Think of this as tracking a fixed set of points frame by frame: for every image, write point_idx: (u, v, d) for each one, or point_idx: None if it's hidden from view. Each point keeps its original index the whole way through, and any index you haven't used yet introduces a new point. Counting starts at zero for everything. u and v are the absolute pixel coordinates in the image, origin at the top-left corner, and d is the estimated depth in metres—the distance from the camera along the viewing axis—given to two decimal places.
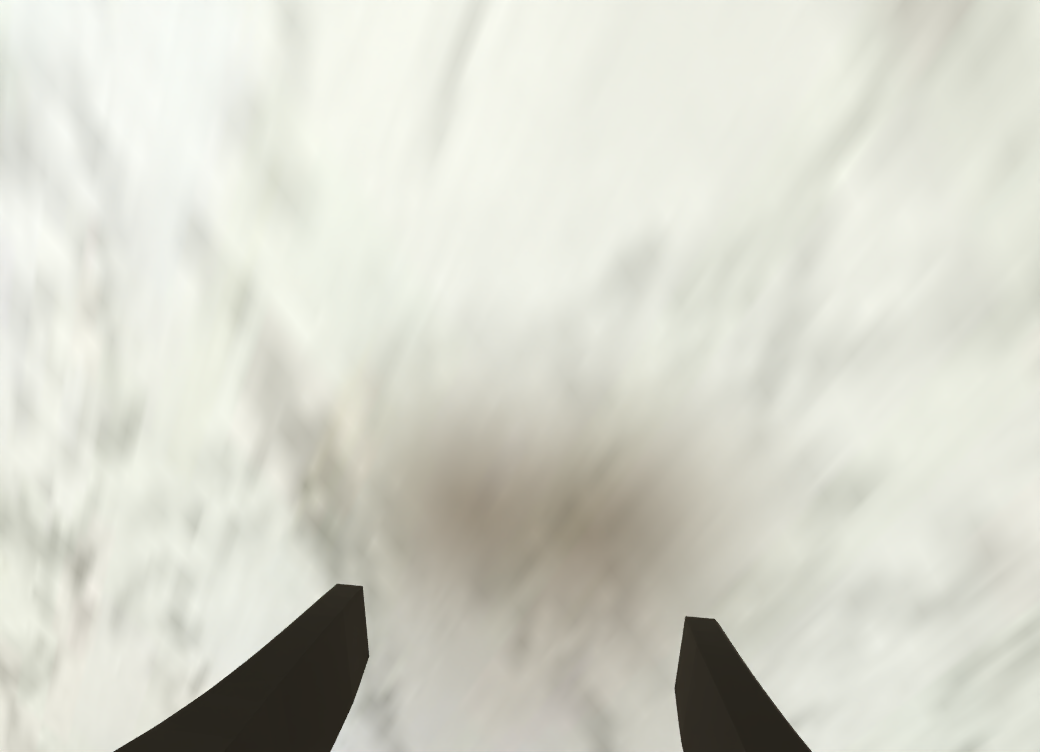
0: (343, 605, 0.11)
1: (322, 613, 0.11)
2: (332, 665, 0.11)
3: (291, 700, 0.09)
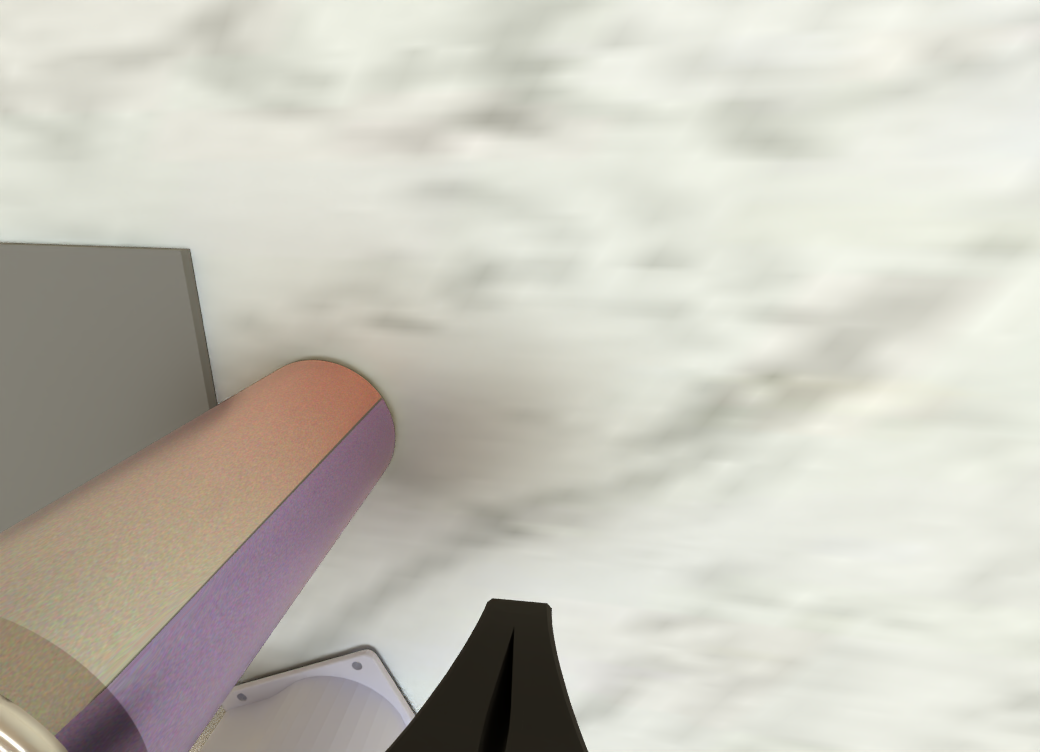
0: (512, 621, 0.11)
1: (495, 630, 0.10)
2: (507, 684, 0.10)
3: (491, 723, 0.09)
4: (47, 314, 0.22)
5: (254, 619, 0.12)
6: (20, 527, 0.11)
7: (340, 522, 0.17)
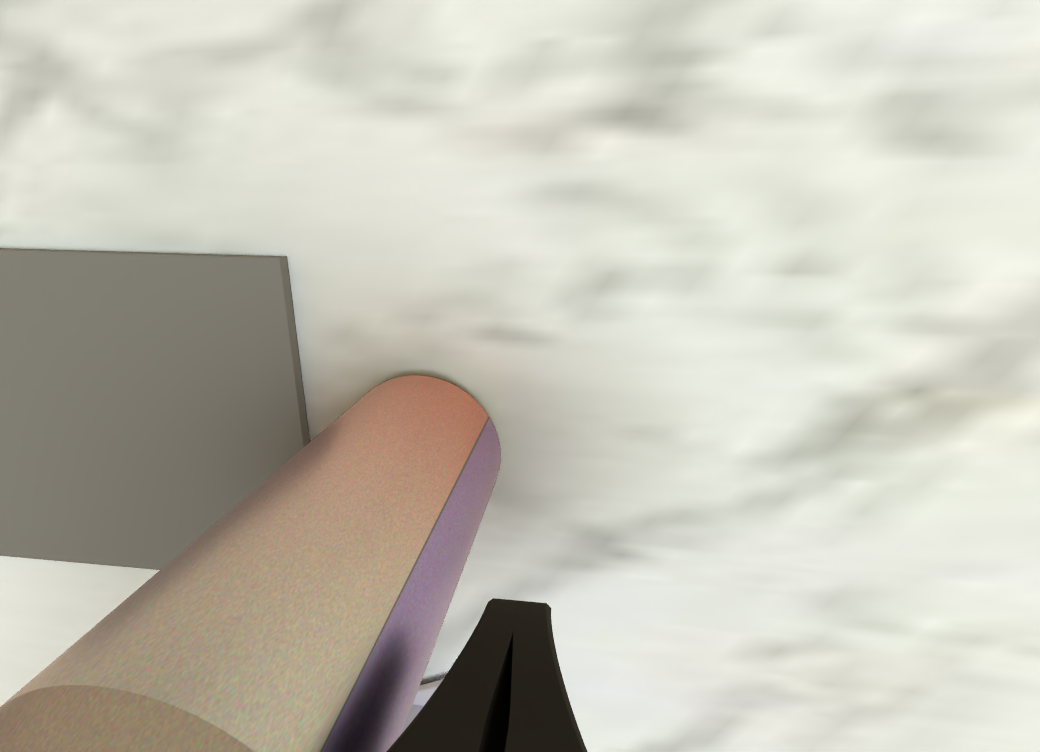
0: (513, 621, 0.11)
1: (496, 630, 0.10)
2: (508, 684, 0.10)
3: (492, 723, 0.09)
4: (130, 326, 0.20)
5: (413, 683, 0.11)
6: (171, 582, 0.09)
7: (466, 558, 0.15)
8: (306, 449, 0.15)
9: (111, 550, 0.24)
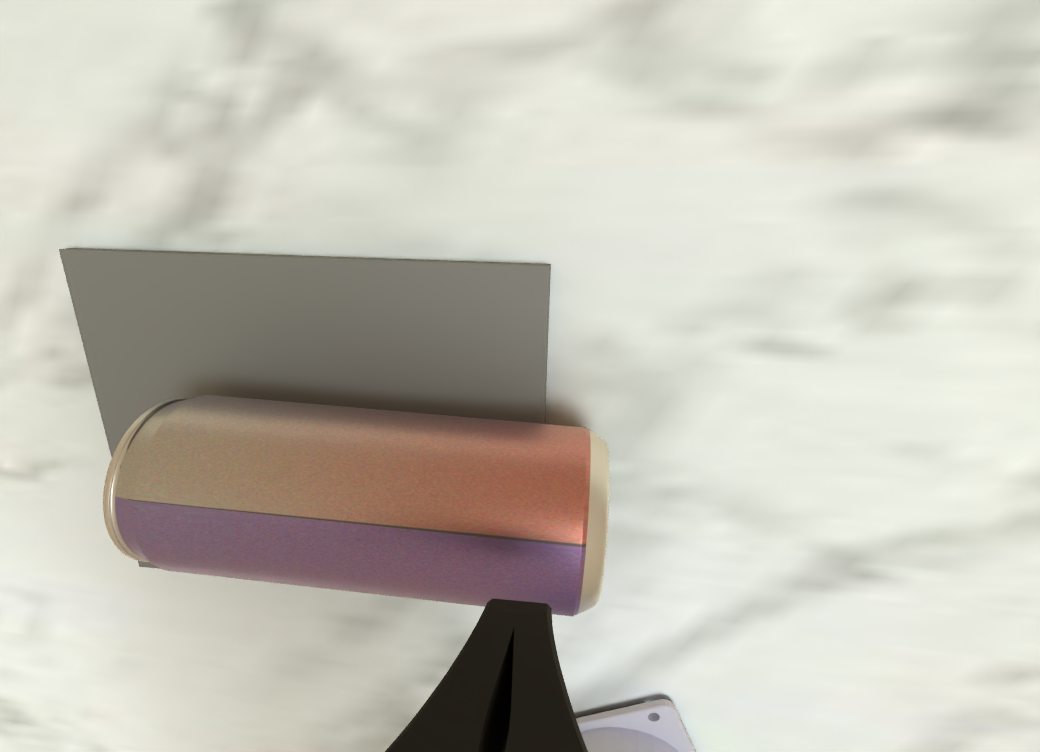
0: (512, 622, 0.11)
1: (495, 630, 0.10)
2: (507, 684, 0.10)
3: (491, 723, 0.09)
4: (373, 335, 0.20)
5: (242, 559, 0.16)
6: (251, 404, 0.18)
7: (399, 587, 0.16)
8: (417, 413, 0.18)
9: None
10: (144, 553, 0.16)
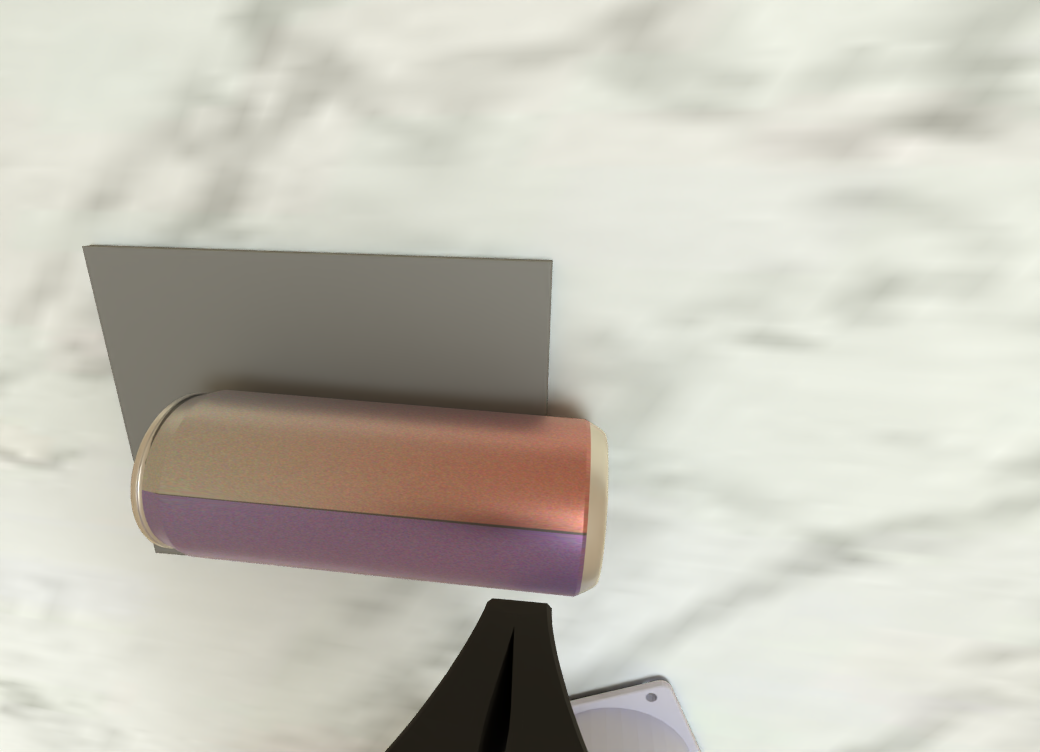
0: (512, 621, 0.11)
1: (495, 630, 0.10)
2: (507, 684, 0.10)
3: (491, 723, 0.09)
4: (382, 329, 0.20)
5: (263, 547, 0.17)
6: (266, 399, 0.19)
7: (411, 572, 0.17)
8: (425, 407, 0.19)
9: None
10: (171, 542, 0.17)
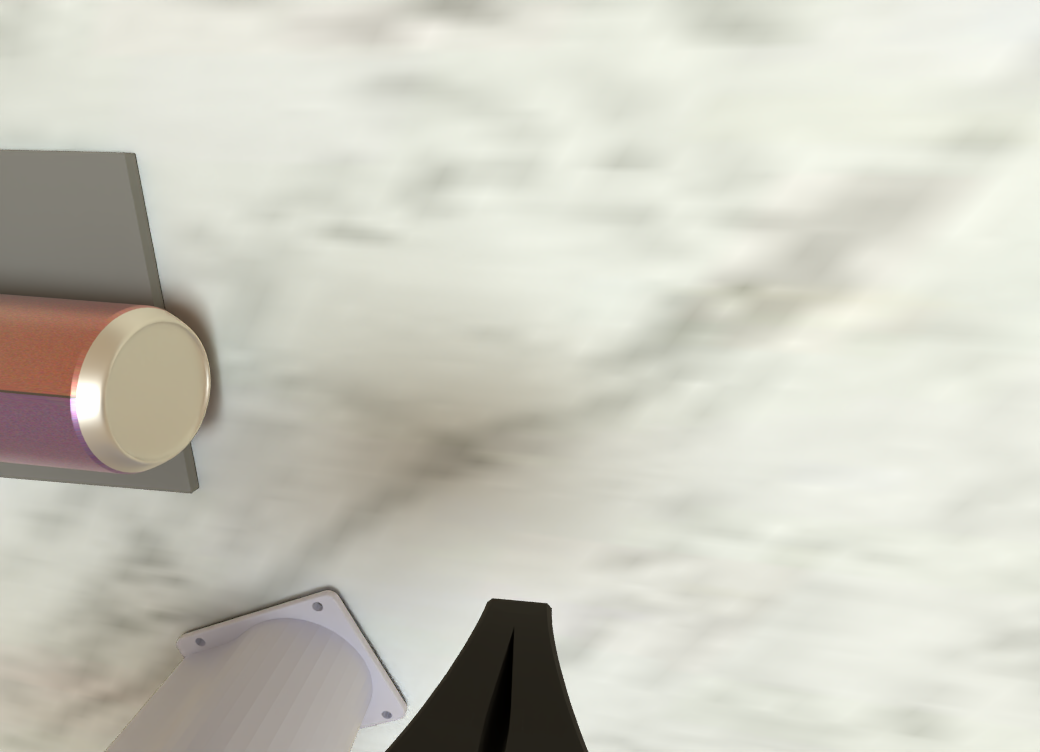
0: (512, 622, 0.11)
1: (495, 630, 0.10)
2: (507, 684, 0.10)
3: (491, 723, 0.09)
4: None
5: None
6: None
7: None
8: None
9: None
10: None
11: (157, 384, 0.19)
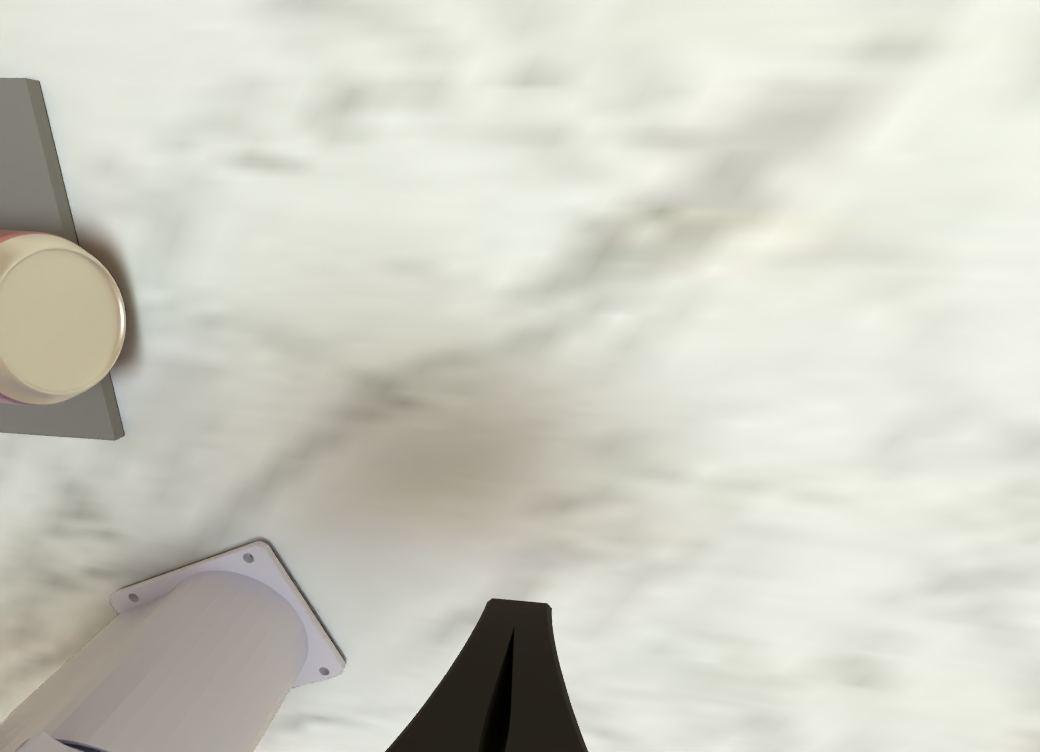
0: (512, 621, 0.11)
1: (495, 630, 0.10)
2: (507, 684, 0.10)
3: (491, 723, 0.09)
4: None
5: None
6: None
7: None
8: None
9: None
10: None
11: (61, 315, 0.19)
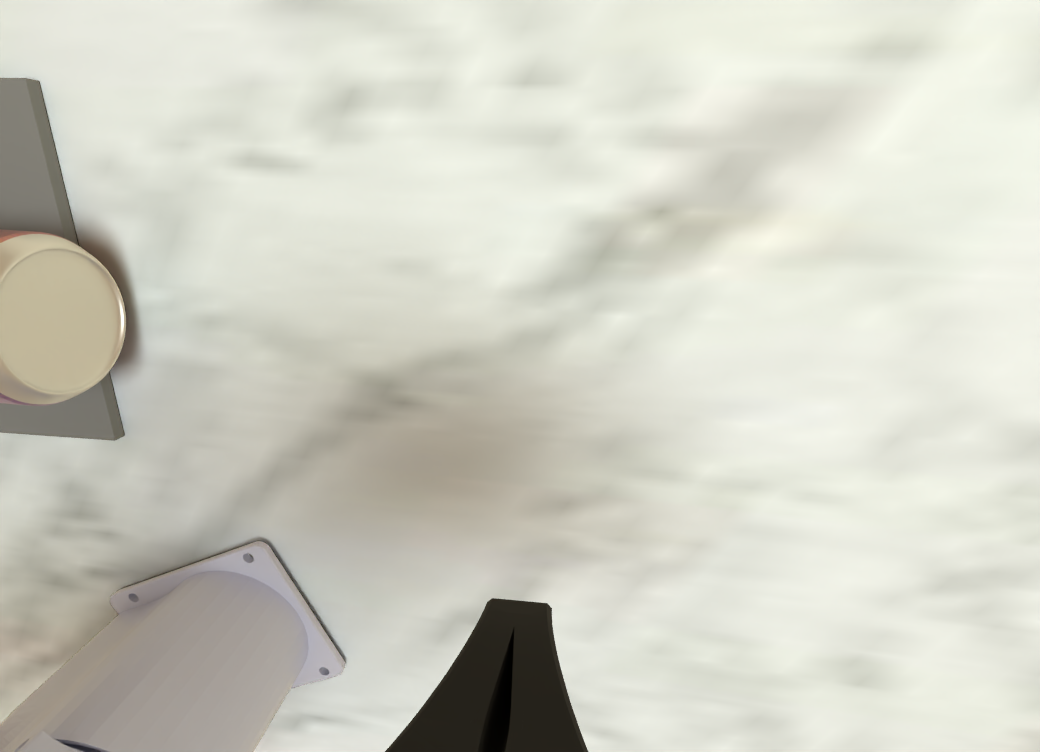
0: (512, 621, 0.11)
1: (495, 630, 0.10)
2: (507, 684, 0.10)
3: (491, 723, 0.09)
4: None
5: None
6: None
7: None
8: None
9: None
10: None
11: (61, 315, 0.19)
